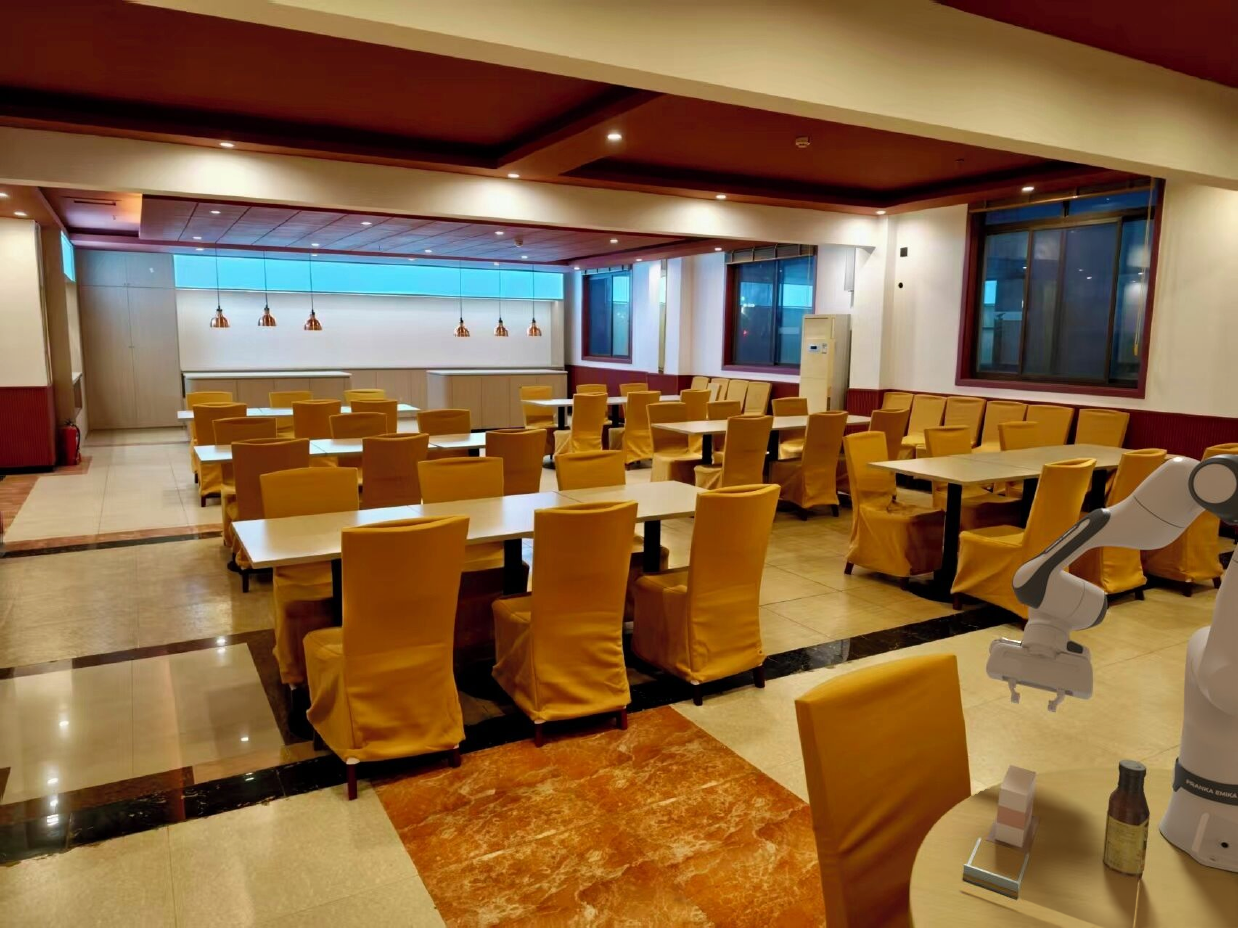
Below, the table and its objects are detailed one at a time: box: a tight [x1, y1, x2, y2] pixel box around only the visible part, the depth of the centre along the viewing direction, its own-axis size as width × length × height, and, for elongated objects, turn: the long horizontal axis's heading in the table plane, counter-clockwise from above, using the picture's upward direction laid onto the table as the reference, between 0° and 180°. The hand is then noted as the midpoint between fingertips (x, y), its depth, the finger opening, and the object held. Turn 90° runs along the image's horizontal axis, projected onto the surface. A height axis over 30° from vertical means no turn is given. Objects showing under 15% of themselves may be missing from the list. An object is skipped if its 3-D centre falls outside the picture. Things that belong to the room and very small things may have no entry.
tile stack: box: [995, 764, 1037, 847], centre depth 157 cm, size 4×10×10 cm, turn 146°
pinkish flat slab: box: [985, 815, 1041, 854], centre depth 158 cm, size 7×14×2 cm, turn 146°
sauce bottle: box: [1102, 759, 1151, 882], centre depth 146 cm, size 7×6×20 cm
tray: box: [962, 837, 1031, 901], centre depth 147 cm, size 8×12×3 cm
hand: (1032, 706), depth 175 cm, fingers open, 5 cm apart
